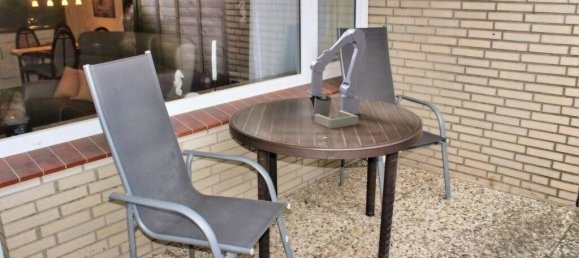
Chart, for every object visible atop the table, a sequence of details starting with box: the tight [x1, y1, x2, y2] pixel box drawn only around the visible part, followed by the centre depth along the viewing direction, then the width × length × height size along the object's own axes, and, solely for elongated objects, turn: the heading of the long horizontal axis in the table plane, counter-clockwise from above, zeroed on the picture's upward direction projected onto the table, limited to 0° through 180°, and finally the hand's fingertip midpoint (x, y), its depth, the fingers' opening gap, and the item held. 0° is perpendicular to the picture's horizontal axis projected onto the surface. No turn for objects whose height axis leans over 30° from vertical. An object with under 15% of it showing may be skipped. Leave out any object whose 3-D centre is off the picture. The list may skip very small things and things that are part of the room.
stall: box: [314, 109, 359, 130], centre depth 236 cm, size 16×14×4 cm
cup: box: [312, 95, 332, 118], centre depth 245 cm, size 8×8×10 cm
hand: (315, 110), depth 249 cm, fingers closed, pressing on cup
